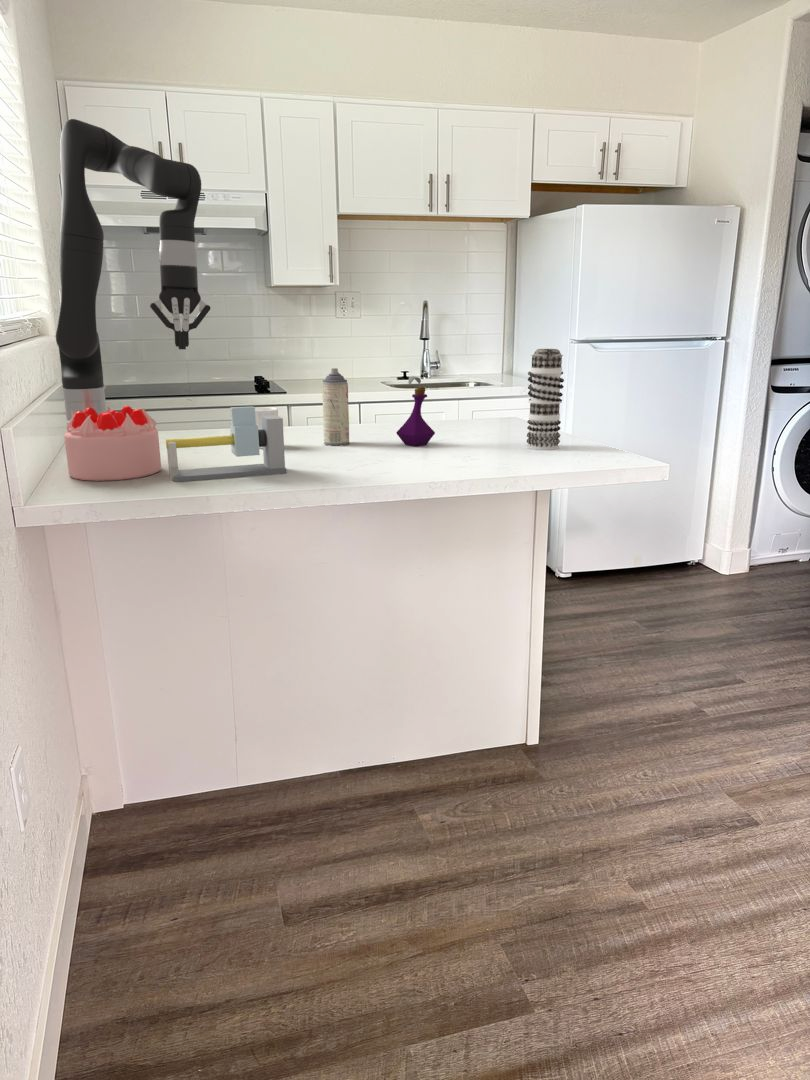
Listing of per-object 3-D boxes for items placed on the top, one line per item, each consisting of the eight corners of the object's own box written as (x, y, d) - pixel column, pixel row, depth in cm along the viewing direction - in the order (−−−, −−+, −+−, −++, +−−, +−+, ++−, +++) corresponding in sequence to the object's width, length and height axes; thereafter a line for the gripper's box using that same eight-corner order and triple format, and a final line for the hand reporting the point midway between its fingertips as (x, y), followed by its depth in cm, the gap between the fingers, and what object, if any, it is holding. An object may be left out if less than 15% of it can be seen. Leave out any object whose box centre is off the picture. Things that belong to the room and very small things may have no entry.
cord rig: (171, 482, 167) (166, 425, 164) (167, 475, 174) (162, 420, 171) (286, 473, 176) (283, 418, 173) (278, 466, 183) (275, 414, 180)
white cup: (244, 448, 208) (242, 410, 205) (258, 443, 215) (256, 406, 212) (271, 450, 205) (269, 411, 203) (284, 445, 213) (283, 407, 210)
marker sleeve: (236, 456, 172) (233, 409, 169) (231, 452, 177) (228, 406, 175) (259, 455, 173) (256, 408, 171) (253, 450, 179) (251, 405, 176)
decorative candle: (523, 444, 211) (526, 348, 204) (558, 444, 211) (562, 348, 204) (526, 450, 203) (530, 350, 196) (563, 450, 202) (568, 349, 195)
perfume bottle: (416, 441, 217) (416, 374, 212) (435, 444, 212) (435, 376, 207) (395, 444, 212) (395, 376, 207) (415, 448, 207) (414, 378, 202)
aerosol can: (353, 444, 213) (351, 368, 207) (329, 446, 210) (327, 369, 204) (343, 441, 218) (341, 367, 213) (320, 443, 215) (317, 368, 210)
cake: (59, 471, 180) (51, 408, 176) (146, 461, 191) (141, 402, 187) (82, 485, 165) (74, 417, 161) (175, 474, 176) (170, 409, 172)
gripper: (145, 261, 161) (150, 349, 165) (212, 265, 165) (215, 350, 169) (145, 263, 167) (149, 348, 172) (209, 267, 172) (211, 349, 176)
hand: (182, 349), depth 171 cm, fingers closed
